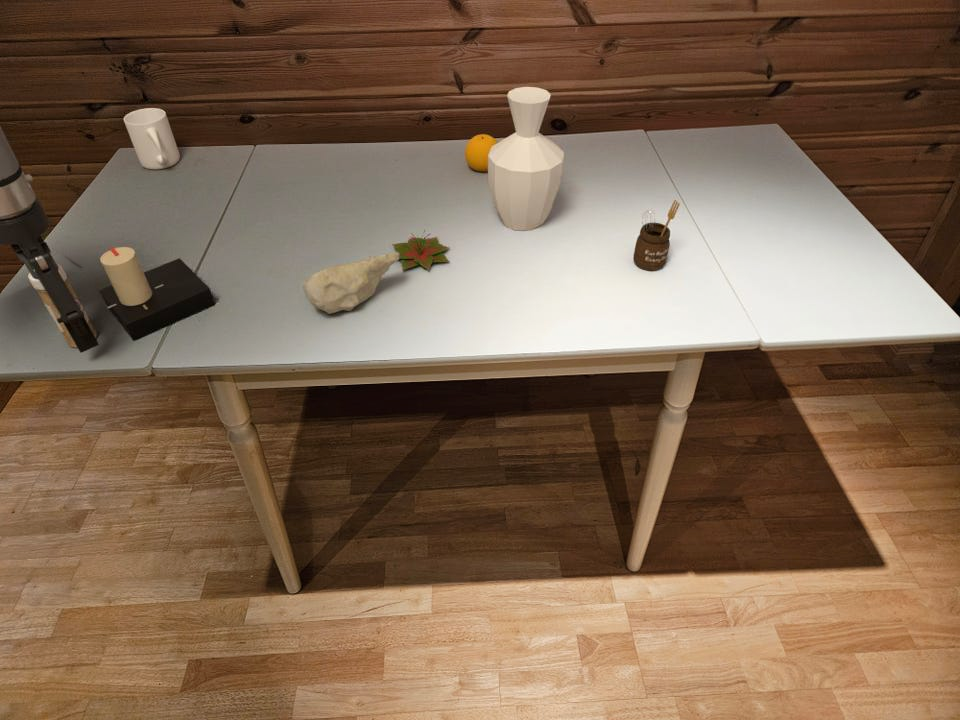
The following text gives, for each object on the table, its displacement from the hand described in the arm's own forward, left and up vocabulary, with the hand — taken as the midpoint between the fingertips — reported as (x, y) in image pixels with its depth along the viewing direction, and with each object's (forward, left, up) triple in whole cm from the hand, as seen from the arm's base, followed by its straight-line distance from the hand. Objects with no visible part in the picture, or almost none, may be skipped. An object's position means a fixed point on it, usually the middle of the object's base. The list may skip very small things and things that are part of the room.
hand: (74, 326), depth 103 cm
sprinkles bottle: (0, 0, -3) cm, 3 cm away
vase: (+78, -22, -3) cm, 81 cm away
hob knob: (+10, 0, +1) cm, 10 cm away
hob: (+13, 0, -3) cm, 13 cm away
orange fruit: (+87, 0, -3) cm, 87 cm away
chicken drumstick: (+39, -20, -3) cm, 44 cm away
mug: (+34, +50, -3) cm, 61 cm away
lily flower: (+55, -18, -3) cm, 58 cm away
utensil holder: (+85, -48, -3) cm, 98 cm away
